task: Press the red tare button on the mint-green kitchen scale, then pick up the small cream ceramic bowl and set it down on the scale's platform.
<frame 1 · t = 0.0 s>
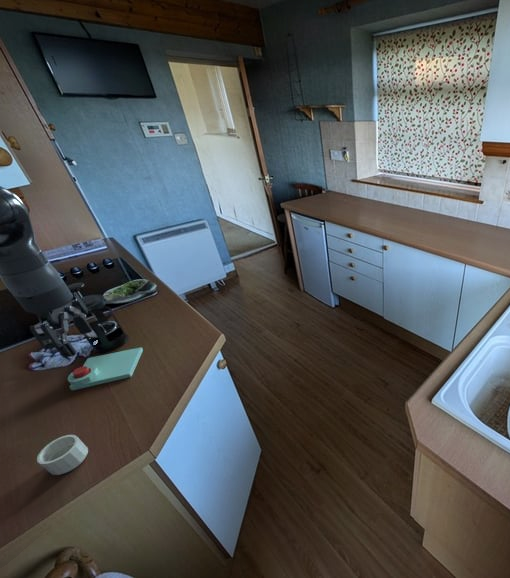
hand: (79, 343, 70), 20 cm above the worktop, tool pointing down, fingers open, 8 cm apart
tare button: (81, 372, 83), point 3 cm above the worktop, slide at 0.1 cm
french press: (111, 343, 99), on the worktop
scale: (110, 368, 89), on the worktop
salad plate: (134, 293, 125), on the worktop
bowl: (70, 461, 66), on the worktop
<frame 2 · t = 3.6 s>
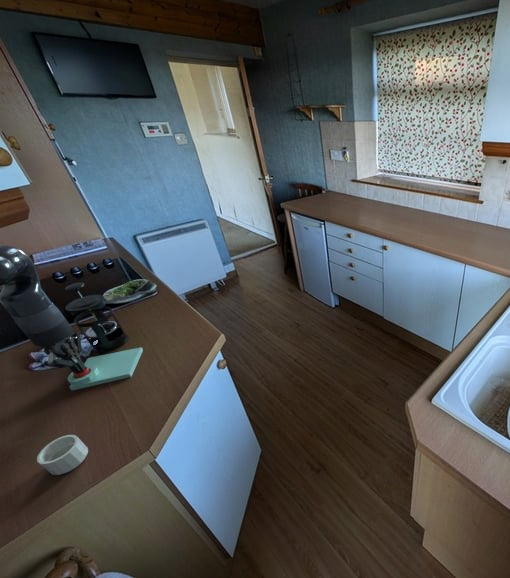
hand: (80, 370, 83), 4 cm above the worktop, tool pointing down, fingers closed
tare button: (81, 372, 84), point 3 cm above the worktop, slide at -0.1 cm, touching gripper
everything else where it was.
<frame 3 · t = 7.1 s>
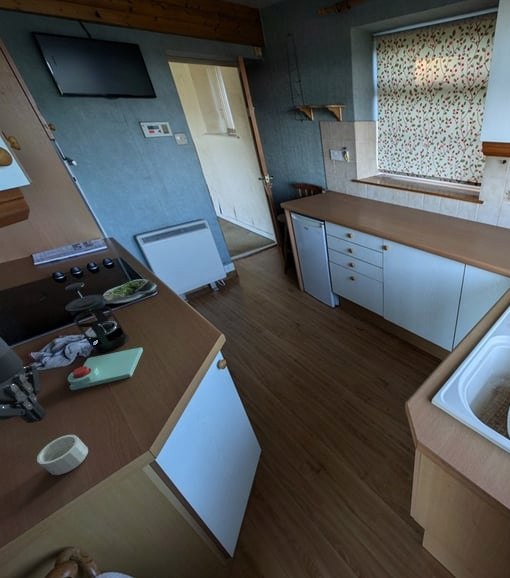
hand: (38, 418, 60), 14 cm above the worktop, tool pointing down, fingers closed
tare button: (81, 372, 83), point 3 cm above the worktop, slide at 0.1 cm
everything else where it was.
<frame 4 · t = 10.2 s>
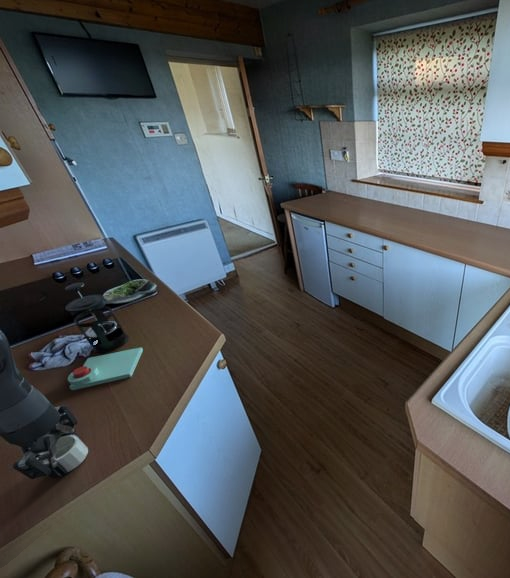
hand: (68, 459, 66), 1 cm above the worktop, tool pointing down, fingers closed on bowl, 6 cm apart
bowl: (70, 461, 66), on the worktop, touching gripper
everything else where it was.
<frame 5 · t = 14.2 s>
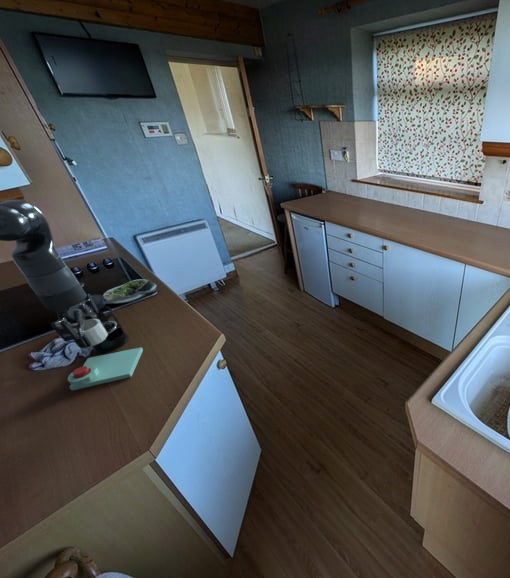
hand: (92, 338, 79), 15 cm above the worktop, tool pointing down, fingers closed on bowl, 6 cm apart
bowl: (93, 340, 80), point 14 cm above the worktop, touching gripper
everything else where it was.
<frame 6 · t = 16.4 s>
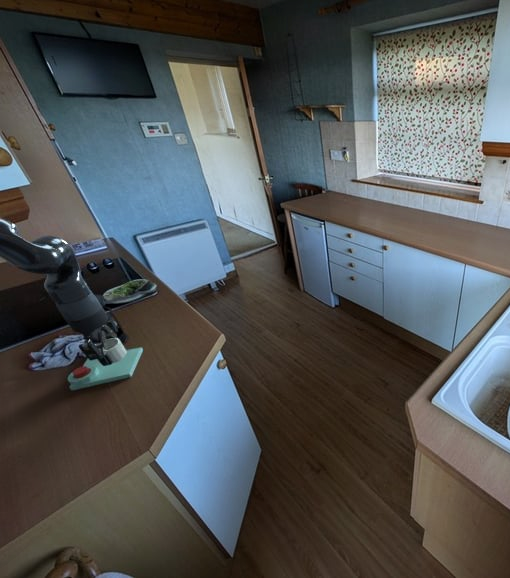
hand: (112, 356, 86), 5 cm above the worktop, tool pointing down, fingers closed on bowl, 6 cm apart
bowl: (114, 357, 87), point 5 cm above the worktop, touching gripper
everything else where it was.
when the fingers open (2 cm above the worktop, at t = 18.0 s): bowl stays where it is, resting on scale.
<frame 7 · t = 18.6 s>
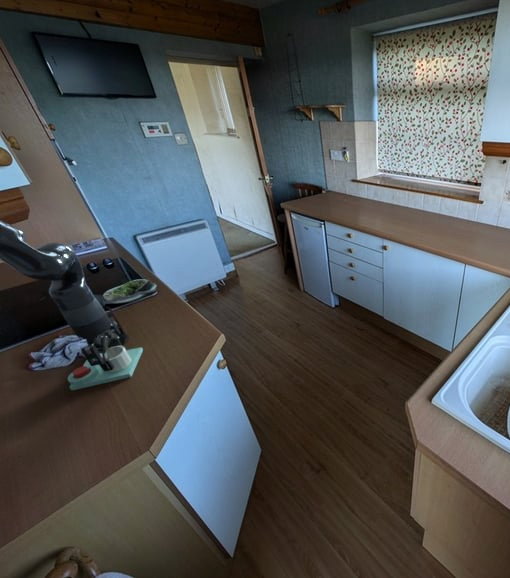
hand: (114, 359, 87), 4 cm above the worktop, tool pointing down, fingers open, 8 cm apart
bowl: (119, 365, 88), point 1 cm above the worktop, touching scale
everything else where it was.
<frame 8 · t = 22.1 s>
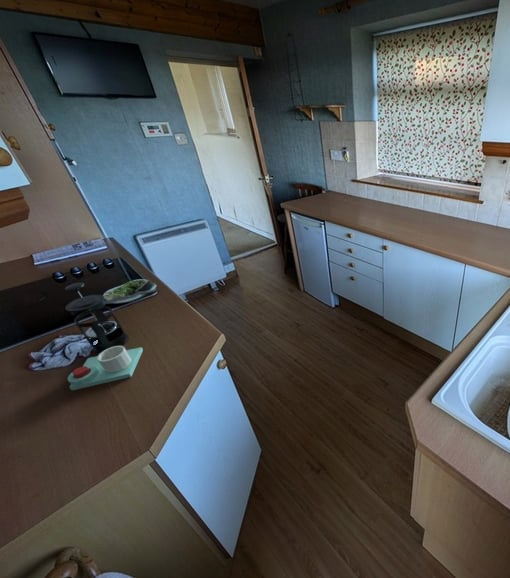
nothing on the worktop moved.
at the end: tare button pushed in 0.9 cm at the most during the clip, back to where it started at the end; bowl inside the target area on the scale (3.3 cm from its centre), point 1.4 cm above the scale's base; bowl tilted 0° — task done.
